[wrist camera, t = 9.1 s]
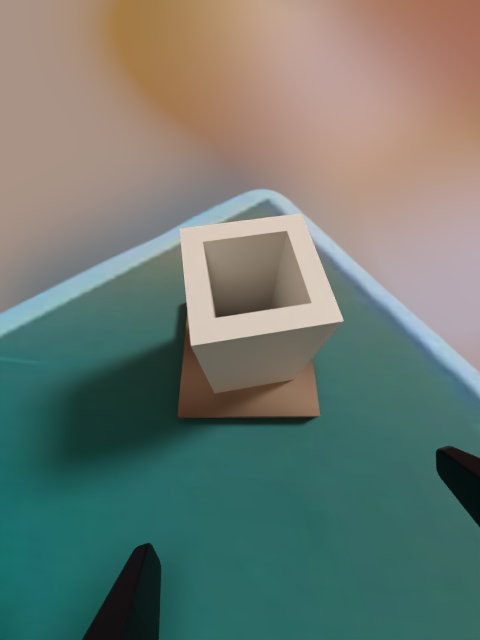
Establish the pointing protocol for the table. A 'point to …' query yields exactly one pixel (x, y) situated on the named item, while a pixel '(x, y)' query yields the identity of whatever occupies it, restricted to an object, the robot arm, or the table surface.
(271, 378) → the sleeve
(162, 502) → the table surface
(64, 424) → the table surface
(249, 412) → the post stand
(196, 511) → the table surface
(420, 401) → the table surface
